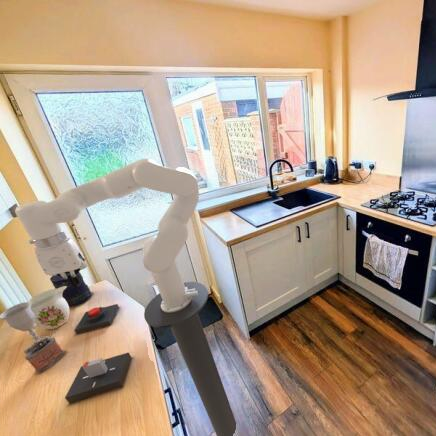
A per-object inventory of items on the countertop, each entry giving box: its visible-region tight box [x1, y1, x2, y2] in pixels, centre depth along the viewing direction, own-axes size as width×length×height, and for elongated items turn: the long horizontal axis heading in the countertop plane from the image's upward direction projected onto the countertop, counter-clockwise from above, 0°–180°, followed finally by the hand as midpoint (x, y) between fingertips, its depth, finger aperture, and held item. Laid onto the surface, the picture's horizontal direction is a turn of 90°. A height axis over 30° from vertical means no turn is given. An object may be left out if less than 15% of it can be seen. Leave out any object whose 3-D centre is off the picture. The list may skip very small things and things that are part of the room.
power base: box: [73, 303, 120, 335], centre depth 100 cm, size 12×10×4 cm
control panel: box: [64, 352, 133, 405], centre depth 77 cm, size 14×10×3 cm
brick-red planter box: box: [23, 335, 66, 374], centre depth 83 cm, size 8×3×10 cm, turn 159°
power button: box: [87, 306, 101, 317], centre depth 99 cm, size 4×4×2 cm
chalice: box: [0, 301, 43, 344], centre depth 89 cm, size 7×7×18 cm
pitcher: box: [26, 286, 71, 330], centre depth 99 cm, size 11×18×14 cm, turn 137°
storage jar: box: [49, 271, 93, 308], centre depth 112 cm, size 10×10×15 cm
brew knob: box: [82, 357, 108, 378], centre depth 75 cm, size 4×2×5 cm, turn 106°
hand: (77, 284), depth 86 cm, fingers closed
